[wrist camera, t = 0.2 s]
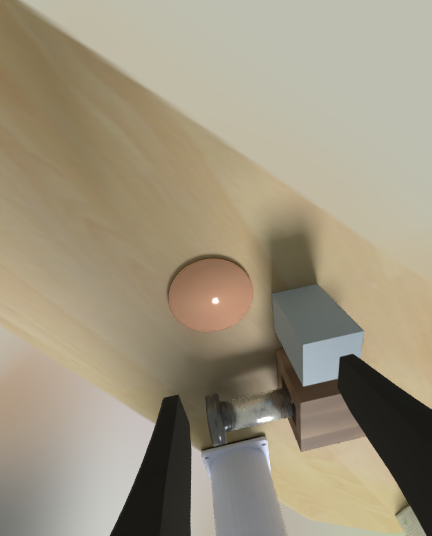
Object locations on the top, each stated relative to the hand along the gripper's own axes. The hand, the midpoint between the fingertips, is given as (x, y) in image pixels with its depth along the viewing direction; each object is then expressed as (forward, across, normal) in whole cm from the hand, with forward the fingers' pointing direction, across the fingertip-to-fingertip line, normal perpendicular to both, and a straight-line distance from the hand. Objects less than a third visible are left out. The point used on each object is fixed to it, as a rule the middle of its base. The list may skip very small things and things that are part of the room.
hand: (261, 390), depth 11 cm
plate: (+10, +1, +1) cm, 10 cm away
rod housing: (+10, -6, +12) cm, 17 cm away
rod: (+9, 0, +12) cm, 15 cm away
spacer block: (+10, -6, +4) cm, 12 cm away
